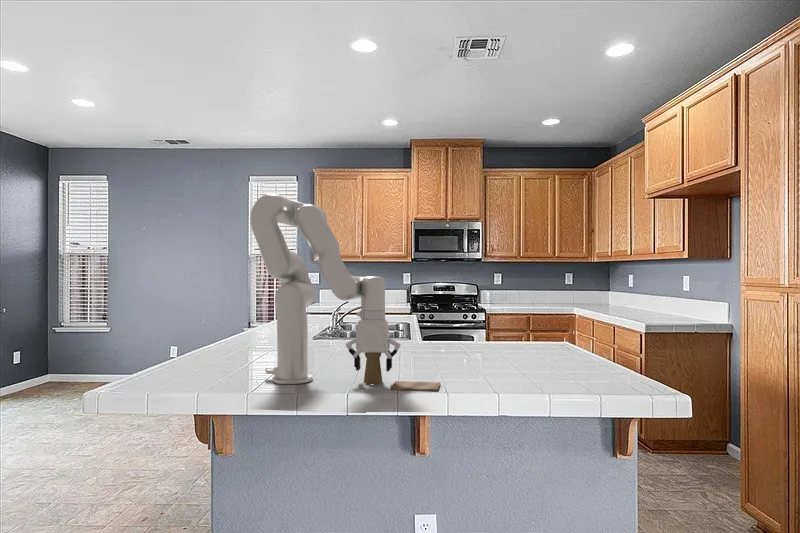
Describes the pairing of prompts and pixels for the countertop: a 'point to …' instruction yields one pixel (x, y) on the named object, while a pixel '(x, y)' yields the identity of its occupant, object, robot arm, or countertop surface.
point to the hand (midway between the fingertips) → (373, 370)
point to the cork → (373, 369)
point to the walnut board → (415, 386)
